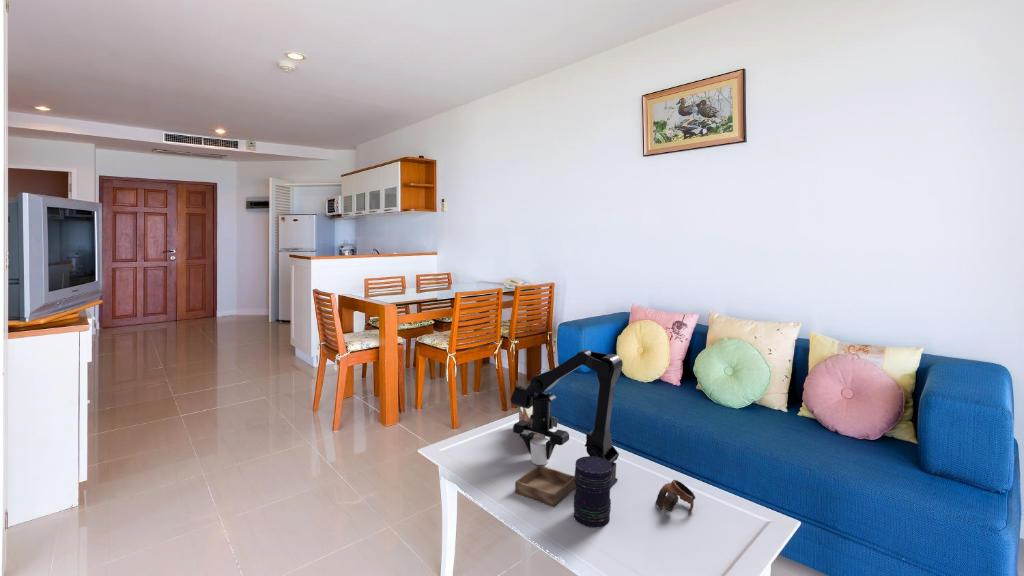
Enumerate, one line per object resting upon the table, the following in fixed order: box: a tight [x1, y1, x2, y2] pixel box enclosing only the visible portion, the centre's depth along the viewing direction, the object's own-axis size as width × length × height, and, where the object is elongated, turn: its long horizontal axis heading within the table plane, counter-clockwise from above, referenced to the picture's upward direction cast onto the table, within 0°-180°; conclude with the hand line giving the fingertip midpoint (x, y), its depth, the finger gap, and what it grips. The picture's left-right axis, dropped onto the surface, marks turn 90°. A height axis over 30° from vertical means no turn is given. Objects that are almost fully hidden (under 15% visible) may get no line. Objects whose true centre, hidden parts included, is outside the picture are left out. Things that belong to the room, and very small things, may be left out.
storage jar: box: [573, 455, 612, 529], centre depth 133 cm, size 10×10×15 cm
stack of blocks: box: [518, 406, 546, 452], centre depth 184 cm, size 21×6×12 cm, turn 8°
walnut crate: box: [514, 465, 576, 508], centre depth 147 cm, size 13×13×4 cm
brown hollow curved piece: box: [655, 479, 696, 513], centre depth 138 cm, size 12×9×8 cm
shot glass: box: [530, 437, 549, 466], centre depth 165 cm, size 7×7×7 cm
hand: (539, 456), depth 165 cm, fingers closed on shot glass, 6 cm apart
